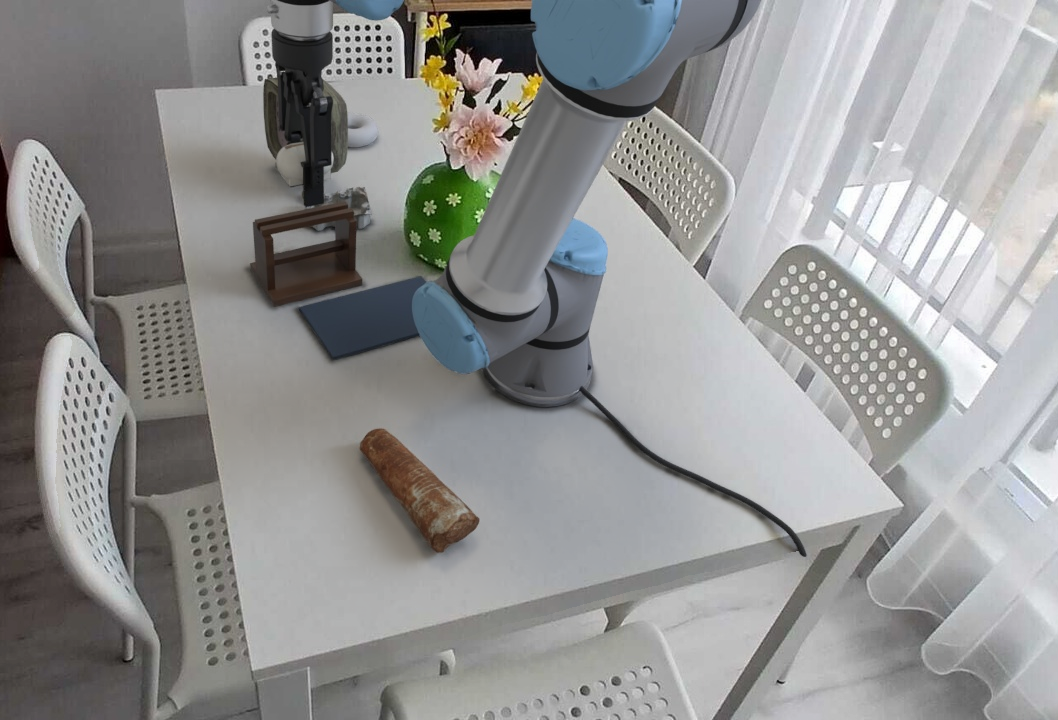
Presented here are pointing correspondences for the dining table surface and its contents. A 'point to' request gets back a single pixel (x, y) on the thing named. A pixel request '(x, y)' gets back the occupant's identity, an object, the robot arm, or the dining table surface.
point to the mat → (364, 318)
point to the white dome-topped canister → (295, 164)
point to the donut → (361, 130)
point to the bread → (419, 491)
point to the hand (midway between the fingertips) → (305, 193)
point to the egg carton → (355, 201)
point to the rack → (306, 255)
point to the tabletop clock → (338, 110)
